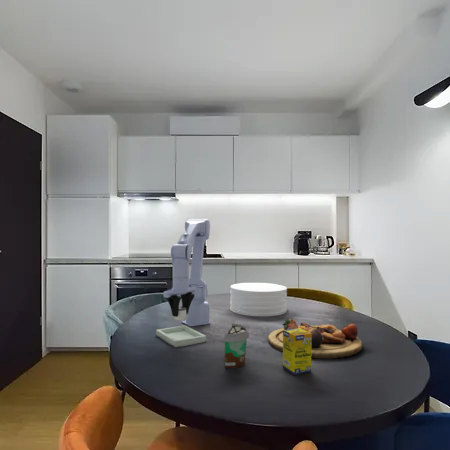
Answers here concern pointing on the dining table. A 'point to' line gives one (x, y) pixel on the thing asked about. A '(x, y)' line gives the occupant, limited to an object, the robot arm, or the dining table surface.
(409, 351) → the dining table surface
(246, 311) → the plate stack
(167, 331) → the tray
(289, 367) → the supplement box
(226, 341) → the food container
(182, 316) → the shaker
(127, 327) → the dining table surface
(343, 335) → the wooden plate with food
